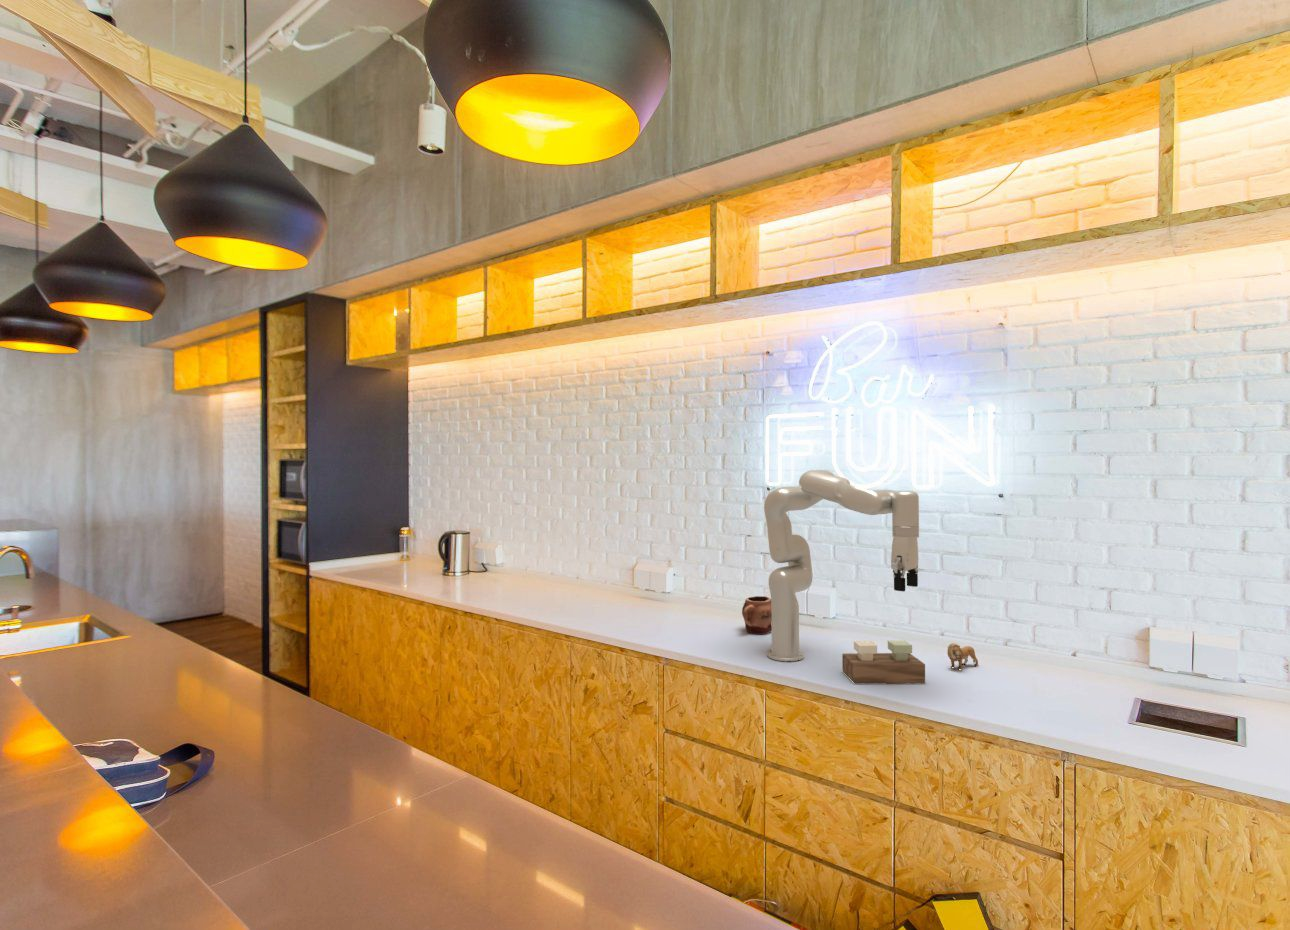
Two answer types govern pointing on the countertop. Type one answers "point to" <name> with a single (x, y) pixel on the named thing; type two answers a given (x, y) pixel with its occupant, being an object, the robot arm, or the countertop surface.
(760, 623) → the decorative planter
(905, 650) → the pale green block
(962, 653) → the lion figurine
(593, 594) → the countertop surface
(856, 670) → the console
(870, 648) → the cream block
